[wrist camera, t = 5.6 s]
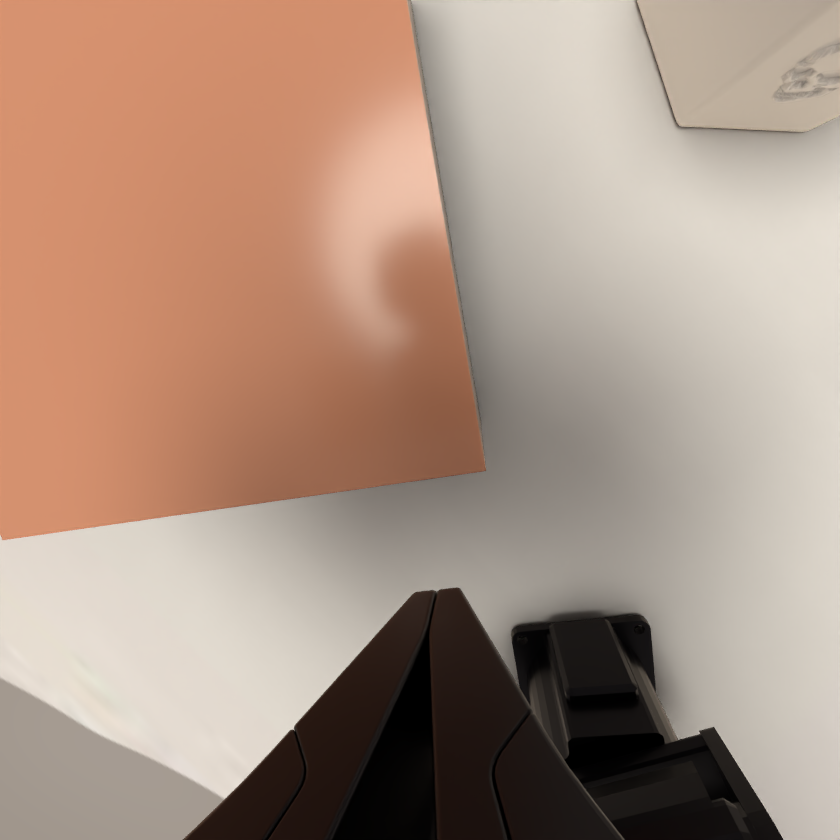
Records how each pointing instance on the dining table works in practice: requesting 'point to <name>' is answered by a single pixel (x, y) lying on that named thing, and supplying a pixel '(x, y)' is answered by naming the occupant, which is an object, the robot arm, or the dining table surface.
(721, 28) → the jar
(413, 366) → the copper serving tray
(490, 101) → the dining table surface
